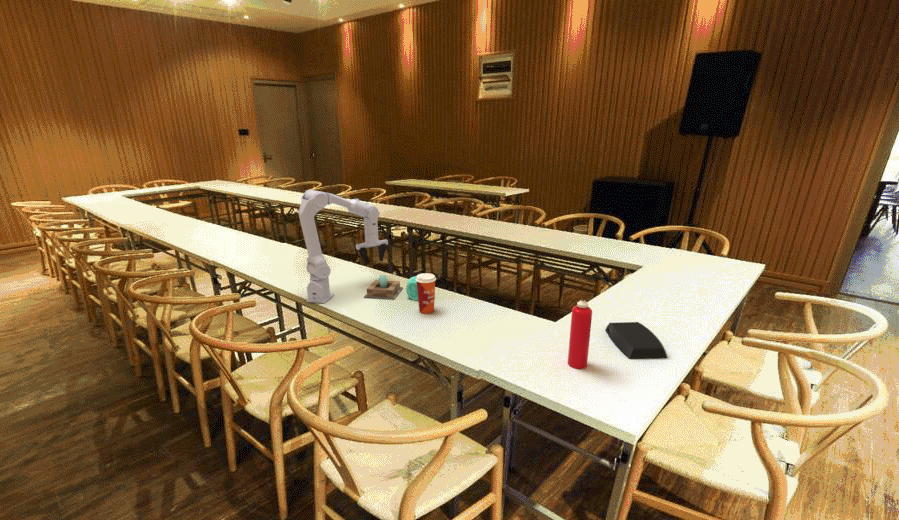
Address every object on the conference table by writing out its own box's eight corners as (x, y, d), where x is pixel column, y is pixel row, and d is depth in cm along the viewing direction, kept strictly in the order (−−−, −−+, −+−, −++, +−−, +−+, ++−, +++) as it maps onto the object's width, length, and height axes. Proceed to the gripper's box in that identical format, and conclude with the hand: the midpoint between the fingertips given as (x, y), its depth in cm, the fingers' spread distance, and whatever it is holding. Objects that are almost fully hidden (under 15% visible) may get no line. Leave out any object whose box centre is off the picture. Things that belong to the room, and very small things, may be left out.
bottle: (565, 365, 121) (570, 301, 116) (571, 357, 126) (576, 295, 120) (583, 371, 119) (590, 305, 113) (589, 362, 123) (595, 299, 117)
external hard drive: (640, 330, 143) (642, 319, 142) (669, 360, 125) (671, 347, 124) (602, 331, 143) (603, 320, 142) (626, 360, 125) (627, 348, 123)
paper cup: (427, 316, 155) (427, 280, 151) (412, 311, 159) (411, 276, 155) (441, 309, 161) (440, 275, 156) (425, 304, 165) (424, 271, 161)
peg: (386, 293, 176) (385, 277, 174) (379, 292, 176) (378, 277, 174) (388, 290, 179) (387, 275, 177) (381, 290, 179) (380, 274, 177)
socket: (394, 299, 170) (393, 291, 169) (363, 298, 173) (363, 289, 171) (402, 288, 183) (402, 280, 182) (374, 286, 185) (374, 279, 184)
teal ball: (432, 295, 175) (432, 277, 173) (423, 302, 168) (422, 283, 166) (415, 292, 178) (415, 274, 176) (406, 299, 171) (405, 280, 169)
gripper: (382, 228, 190) (383, 257, 193) (352, 233, 182) (354, 263, 185) (389, 231, 184) (391, 261, 188) (358, 236, 176) (361, 267, 180)
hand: (373, 262), depth 186 cm, fingers open, 7 cm apart
